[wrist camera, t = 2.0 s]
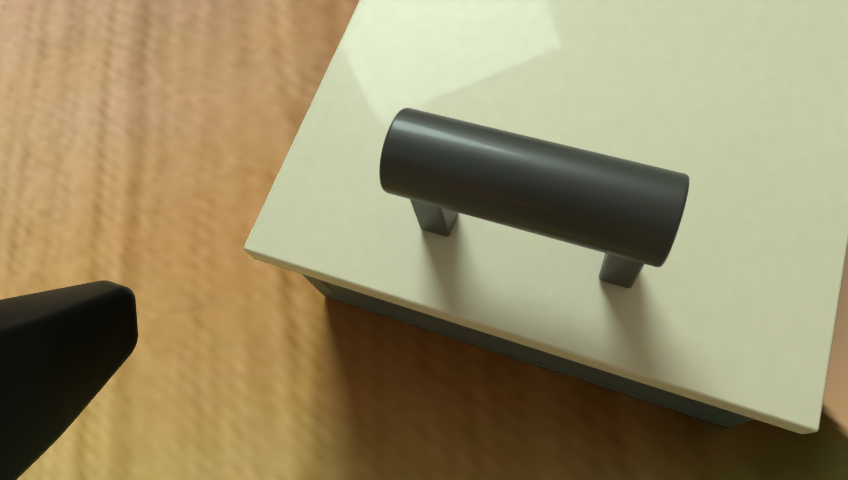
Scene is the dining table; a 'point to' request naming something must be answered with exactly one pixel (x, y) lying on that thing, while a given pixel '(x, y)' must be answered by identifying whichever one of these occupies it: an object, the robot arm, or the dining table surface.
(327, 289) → the drawer
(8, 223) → the dining table surface
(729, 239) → the washer lid
